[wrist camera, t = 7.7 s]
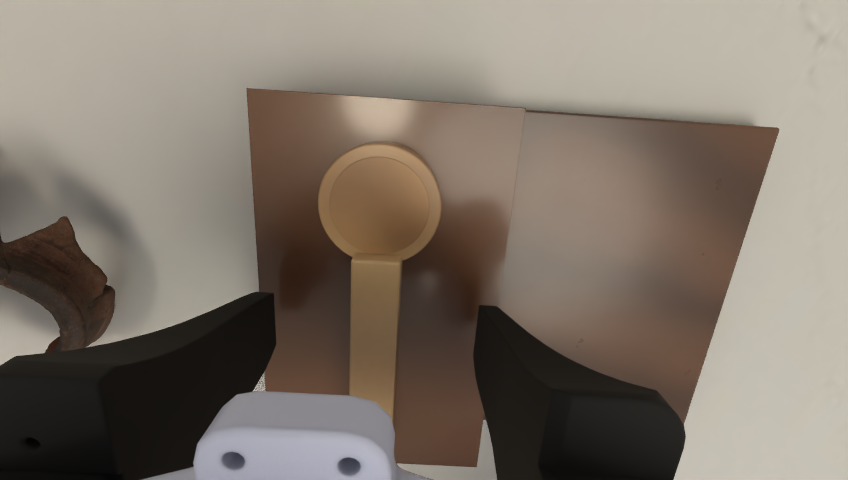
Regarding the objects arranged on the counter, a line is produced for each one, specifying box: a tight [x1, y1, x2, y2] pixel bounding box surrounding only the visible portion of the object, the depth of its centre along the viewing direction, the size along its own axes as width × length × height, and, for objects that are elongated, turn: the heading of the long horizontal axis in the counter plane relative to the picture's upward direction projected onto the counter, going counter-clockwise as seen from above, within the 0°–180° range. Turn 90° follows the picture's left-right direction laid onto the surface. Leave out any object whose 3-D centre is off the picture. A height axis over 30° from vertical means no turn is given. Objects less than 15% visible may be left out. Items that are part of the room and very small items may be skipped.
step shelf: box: [247, 88, 779, 467], centre depth 17 cm, size 15×20×4 cm
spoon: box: [318, 141, 442, 427], centre depth 14 cm, size 12×4×2 cm, turn 176°
